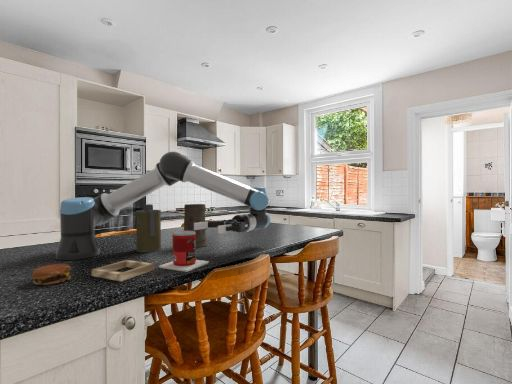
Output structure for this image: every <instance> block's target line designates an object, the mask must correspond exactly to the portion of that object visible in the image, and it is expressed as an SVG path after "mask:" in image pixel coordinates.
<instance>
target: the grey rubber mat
mask: <svg viewBox="0 0 512 384" xmlns="http://www.w3.org/2000/svg"><path fill="white" fill-rule="evenodd" d="M207 264H209V260H201V259H200V260H199V259H196V262H195V264H193V265H189V266H176V265H174V263H173V260H172V261H169V262H167V263H163V264H160V265H158V268H160V269H166V270H173V271H179V272H186V273H187V272H190V271H193V270H195V269H197V268H200V267H203V266H204V265H207Z"/></svg>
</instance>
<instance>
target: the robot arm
mask: <svg viewBox="0 0 512 384" xmlns="http://www.w3.org/2000/svg"><path fill="white" fill-rule="evenodd" d="M178 182H182V183H191V184H193V185H196V186H199V187H201V188H203V189H205V190H208V191H211V192H213V193H216V194H218V195H221V196H223V197H226V198H228V199H231V200H232V201H236V202H238V203H241V204H243V205H245V206H247V207H249V213H243V214H236V215H234V216H233V217H232V219H231V218H230V219H221V220H219V219H218V220H205V221H204V222H199V223H194V230H199V229H206V231H207V230H208V229H209V228H211V229H212V228H214V229H215V228H217V234H225V233H230V232H236V233H244V232H247V233H249V232H250V231H257V230H262V229H266V228H267V227H268V226H269V225H270V224H271V217H270V214H268V212H267V209H266V208H267V206H268V204H269V197H268V194H267V191H266V187H264V186H263V187H262V186H255V187H254V186H251V187H250V186H249V185H246V184H243V183H241V182H240V181H236V180H234V179H231V178H229V177H226V176H224V175H221V174H219V173H217V172H214V171H211V170H210V169H207V168H205V167H202V166H200V165H197V164H195V162H194V160H191V159H190V158H189V157H187V156H186V155H185V154H182V153H180V152H177V151H169V152H165V154H163V155H162V156H161V158H160V159H159V162H157V163H156V164H155V167H154V168H153V169H152V170H150V171H148V172H146V173H145V174H143V175H141V176H140V177H138V178H136V179H134V180H132V181H130V182H128V183H126V184H125V185H123V186H121V187H119V188H117V189H116V190H114V191H113V192H110V193H107V192H105V193H101V194H99V195H98V196H96V197H94V198H93V197H90V196H84V197H83V196H81V197H74V198H73V197H72V198H67V199H63V200H62V201H61V202H60V207H59V214H60V215H59V217H60V221H59V222H60V239H59V241H58V245H57V248H56V251H55V259H56V260H60V261H75V260H81V259H88V258H93V257H97V256H99V255H100V252H101V249H100V246H99V244H98V243H99V242H98V241H97V238H96V236H95V235H96V234H95V233H96V232H95V227H97V226H102V225H105V224H107V223H109V222H110V221H111V220H113V218H115V217H117V216H119V214H120V211H121V210H123V209H125V208H126V207H128V206H130V205H132V204H133V203H135V202H137V201H139V200H141V199H142V198H145V197H146V196H148V195H150V194H152V193H153V192H155V191H157V190H159V189H160V188H163V187H164V186H168V187H172V186H173V185H174V184H177V183H178Z"/></svg>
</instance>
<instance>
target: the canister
mask: <svg viewBox="0 0 512 384" xmlns="http://www.w3.org/2000/svg"><path fill="white" fill-rule="evenodd" d="M161 213H162V210H161V209H154V205H153V204H151V203H149V204H146V203H145V204H144V206H143V209H139V210H135V215H136V227H135V228H136V229H135V230H136V251H135V252H137V253H153V252H159V251H161V250H162V242H161V241H162V238H161V237H162V235H161V234H162V232H161V231H162V228H161V225H162V222H161V219H162V217H161V215H162V214H161Z"/></svg>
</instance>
